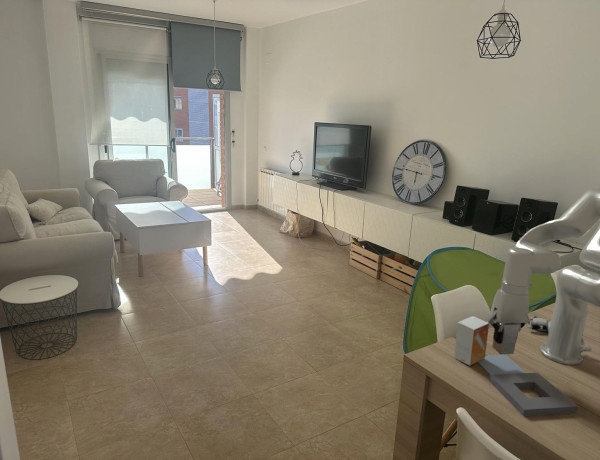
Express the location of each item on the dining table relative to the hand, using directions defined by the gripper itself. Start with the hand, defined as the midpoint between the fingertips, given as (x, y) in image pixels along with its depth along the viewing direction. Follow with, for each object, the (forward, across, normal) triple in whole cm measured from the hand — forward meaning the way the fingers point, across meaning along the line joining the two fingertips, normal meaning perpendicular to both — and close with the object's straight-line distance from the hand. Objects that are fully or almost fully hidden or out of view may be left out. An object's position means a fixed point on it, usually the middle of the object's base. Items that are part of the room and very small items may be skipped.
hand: (504, 340), depth 137 cm
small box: (+9, +8, -5) cm, 13 cm away
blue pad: (+9, 0, 0) cm, 9 cm away
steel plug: (+3, 0, 0) cm, 3 cm away
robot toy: (+10, -34, -21) cm, 41 cm away
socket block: (+9, 0, +15) cm, 18 cm away
